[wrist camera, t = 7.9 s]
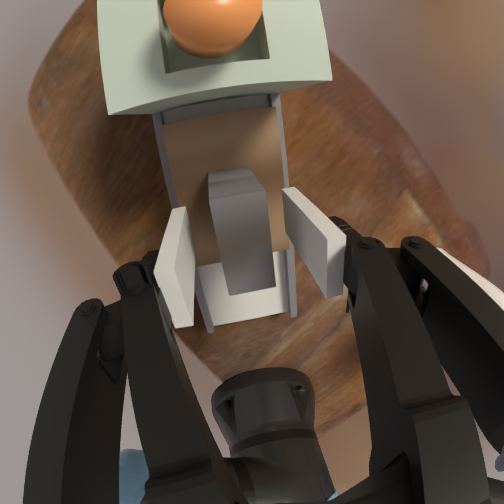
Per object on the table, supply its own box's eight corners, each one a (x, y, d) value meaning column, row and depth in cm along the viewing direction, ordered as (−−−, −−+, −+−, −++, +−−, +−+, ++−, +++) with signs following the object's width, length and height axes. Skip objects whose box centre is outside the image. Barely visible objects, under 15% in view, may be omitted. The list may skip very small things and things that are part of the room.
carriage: (279, 232, 23) (318, 299, 15) (195, 247, 22) (192, 325, 14) (266, 107, 18) (310, 103, 10) (168, 123, 17) (137, 131, 9)
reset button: (255, 53, 9) (268, 39, 7) (176, 65, 9) (167, 52, 7) (245, -8, 7) (255, -32, 5) (168, 2, 7) (160, -21, 5)
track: (291, 300, 29) (297, 315, 26) (206, 317, 28) (207, 333, 26) (272, 94, 19) (280, 92, 17) (156, 114, 18) (150, 114, 16)
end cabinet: (272, 94, 19) (332, 80, 9) (156, 114, 18) (108, 115, 9) (262, 28, 16) (310, -33, 6) (146, 46, 15) (97, -5, 6)
